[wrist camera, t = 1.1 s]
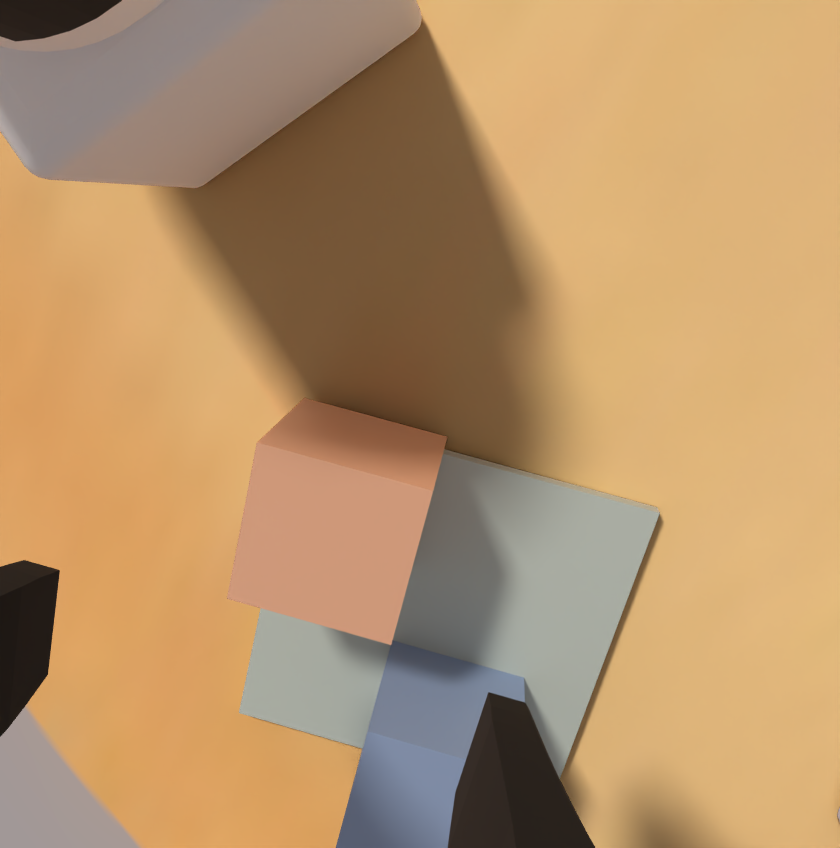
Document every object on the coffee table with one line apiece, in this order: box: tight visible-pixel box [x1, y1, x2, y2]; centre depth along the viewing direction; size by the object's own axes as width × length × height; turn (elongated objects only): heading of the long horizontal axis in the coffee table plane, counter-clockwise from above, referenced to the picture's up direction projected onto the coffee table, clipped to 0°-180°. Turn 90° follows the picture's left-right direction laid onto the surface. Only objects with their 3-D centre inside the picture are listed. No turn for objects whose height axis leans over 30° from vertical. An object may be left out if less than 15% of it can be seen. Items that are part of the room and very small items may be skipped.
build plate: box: [239, 449, 660, 779], centre depth 22 cm, size 10×10×1 cm
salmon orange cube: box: [227, 398, 447, 645], centre depth 19 cm, size 4×4×4 cm
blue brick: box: [336, 640, 525, 848], centre depth 21 cm, size 4×4×4 cm
